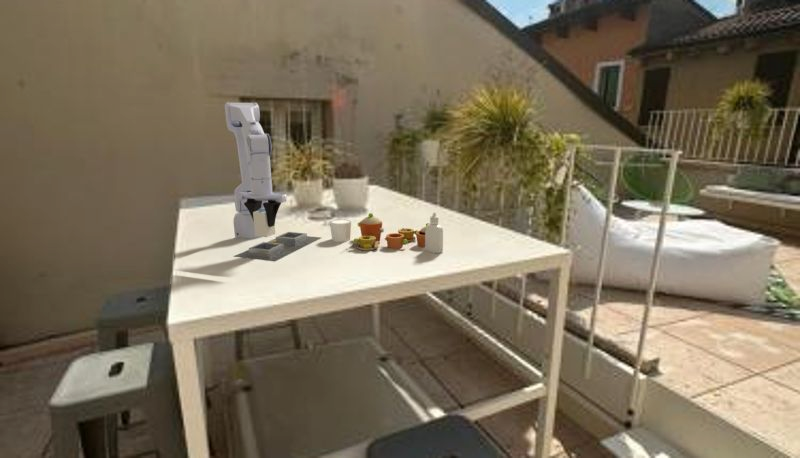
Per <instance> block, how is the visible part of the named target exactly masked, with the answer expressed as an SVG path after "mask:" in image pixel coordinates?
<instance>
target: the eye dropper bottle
mask: <svg viewBox="0 0 800 458" xmlns="http://www.w3.org/2000/svg"><path fill="white" fill-rule="evenodd" d="M429 222H430V224H428V225H427V226H426V225H425V227H426V228H425V247H424V249H425V251H426V252H428V253H432V254H441V253H443V251H444V228H443V226H442V225H440V224H439V216H438V215H437V213H436V212H435V211H433V213H432V215H431V216H430V218H429Z"/></svg>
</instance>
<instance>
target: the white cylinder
mask: <svg viewBox="0 0 800 458" xmlns="http://www.w3.org/2000/svg"><path fill="white" fill-rule="evenodd" d="M329 226H330V233H331V240H332V241H333V242H337V243H343V242H345V243H346V242H349V241H351V235H352V234H351V233H352V221H351V220H349V219H333V220H331V221H330V222H329Z"/></svg>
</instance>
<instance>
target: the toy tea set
mask: <svg viewBox="0 0 800 458" xmlns="http://www.w3.org/2000/svg"><path fill="white" fill-rule="evenodd" d="M428 224H430V223H429V222H427V223H426V224H425V226H424V227H422V228H421V229H420V230H419V229H418V230H417V229H416V230H415V229H414V228H408V227H407V228H404V227H402V228H399V229H398V230H397V232H394V233H393V232H392V233H388V234H386V235H385V238H384V240H385V241H386V244H387V248H388V249H392V250H398V249H402V248H403V245H406V244H408V243H412V242H414V241H416V243H417V246H418V247H419V248H425V228H426V226H427V225H428ZM357 227H359V229H360V234H361V236H359V237H356V238H354V239H353V243H355V244H357V245H356V248H357V249H358V250H360V251H367V252H369V251H373V250H377V249H379V248H380V246H379V245H380V241H381V236H382V233H384V232H385V229H384V228H383V221H382V220H380V218H378V217H376V216H374V214H373V213H372V212H369V213H368V216H366V217H364V218H363V219H362V220H360V221H359V222H358V223H357ZM415 235H416V236H415Z"/></svg>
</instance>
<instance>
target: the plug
mask: <svg viewBox="0 0 800 458" xmlns="http://www.w3.org/2000/svg"><path fill="white" fill-rule="evenodd" d="M253 218H254V229H255V236H259V237H261V238H269V237H271V236H273V235H276V227H275V226H276V225H274V226H272V227H268V223H267V215H266V211H265V208H261V209H259V210H258V211H255V212H253Z"/></svg>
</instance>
